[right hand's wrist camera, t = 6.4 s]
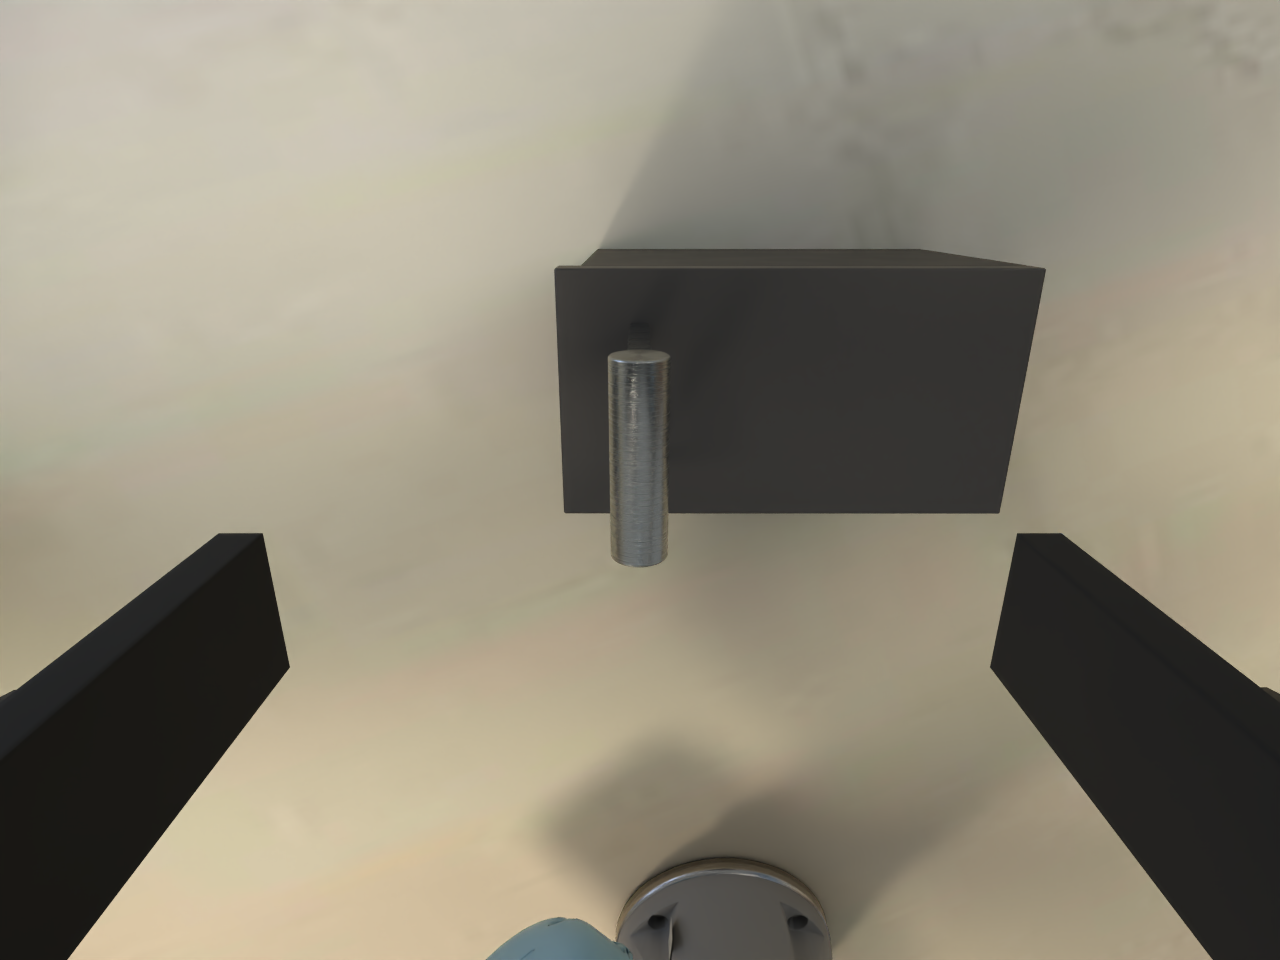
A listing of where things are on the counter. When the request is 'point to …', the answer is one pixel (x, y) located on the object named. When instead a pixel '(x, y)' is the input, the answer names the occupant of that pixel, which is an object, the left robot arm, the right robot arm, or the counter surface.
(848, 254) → the chest
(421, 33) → the counter surface
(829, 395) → the lid
